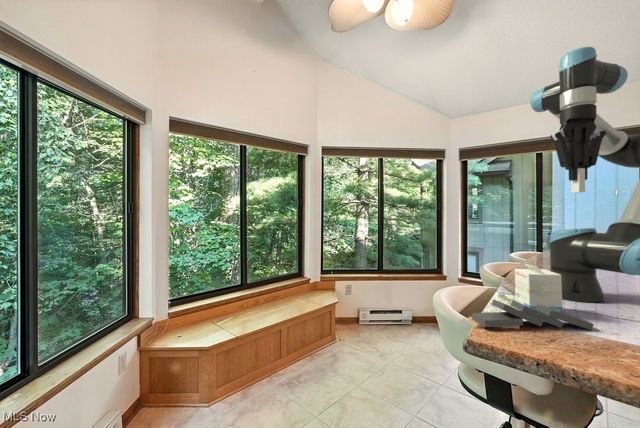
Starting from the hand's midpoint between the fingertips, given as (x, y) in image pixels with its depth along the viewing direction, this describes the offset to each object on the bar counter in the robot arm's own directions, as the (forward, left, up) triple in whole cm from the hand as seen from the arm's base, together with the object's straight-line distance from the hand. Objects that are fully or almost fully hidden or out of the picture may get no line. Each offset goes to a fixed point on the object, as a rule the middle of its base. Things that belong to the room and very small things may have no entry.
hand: (578, 192), depth 77 cm
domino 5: (+7, +6, -34) cm, 35 cm away
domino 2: (+23, 0, -33) cm, 40 cm away
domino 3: (+18, +2, -33) cm, 38 cm away
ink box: (+7, -6, -35) cm, 36 cm away
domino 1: (+23, 0, -34) cm, 41 cm away
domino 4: (+13, +3, -34) cm, 36 cm away
